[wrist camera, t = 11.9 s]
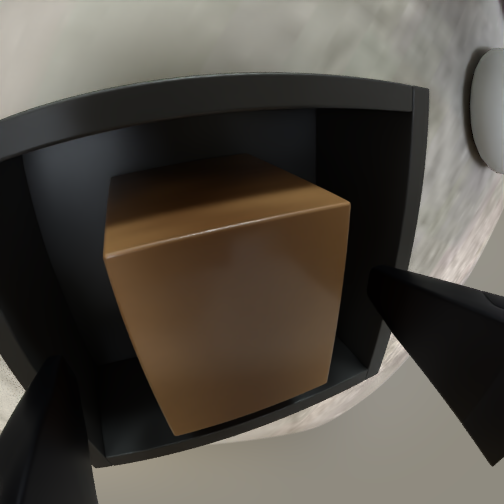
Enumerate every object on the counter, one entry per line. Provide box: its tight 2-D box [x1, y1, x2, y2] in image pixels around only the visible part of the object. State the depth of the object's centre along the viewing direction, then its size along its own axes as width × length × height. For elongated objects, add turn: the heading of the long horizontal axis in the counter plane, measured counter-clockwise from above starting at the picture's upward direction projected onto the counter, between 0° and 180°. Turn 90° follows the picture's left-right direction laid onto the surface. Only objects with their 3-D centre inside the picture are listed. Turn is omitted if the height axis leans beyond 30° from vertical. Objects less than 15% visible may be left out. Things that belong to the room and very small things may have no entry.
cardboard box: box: [103, 153, 351, 436], centre depth 10 cm, size 5×6×6 cm
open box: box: [0, 72, 429, 468], centre depth 10 cm, size 13×12×6 cm
